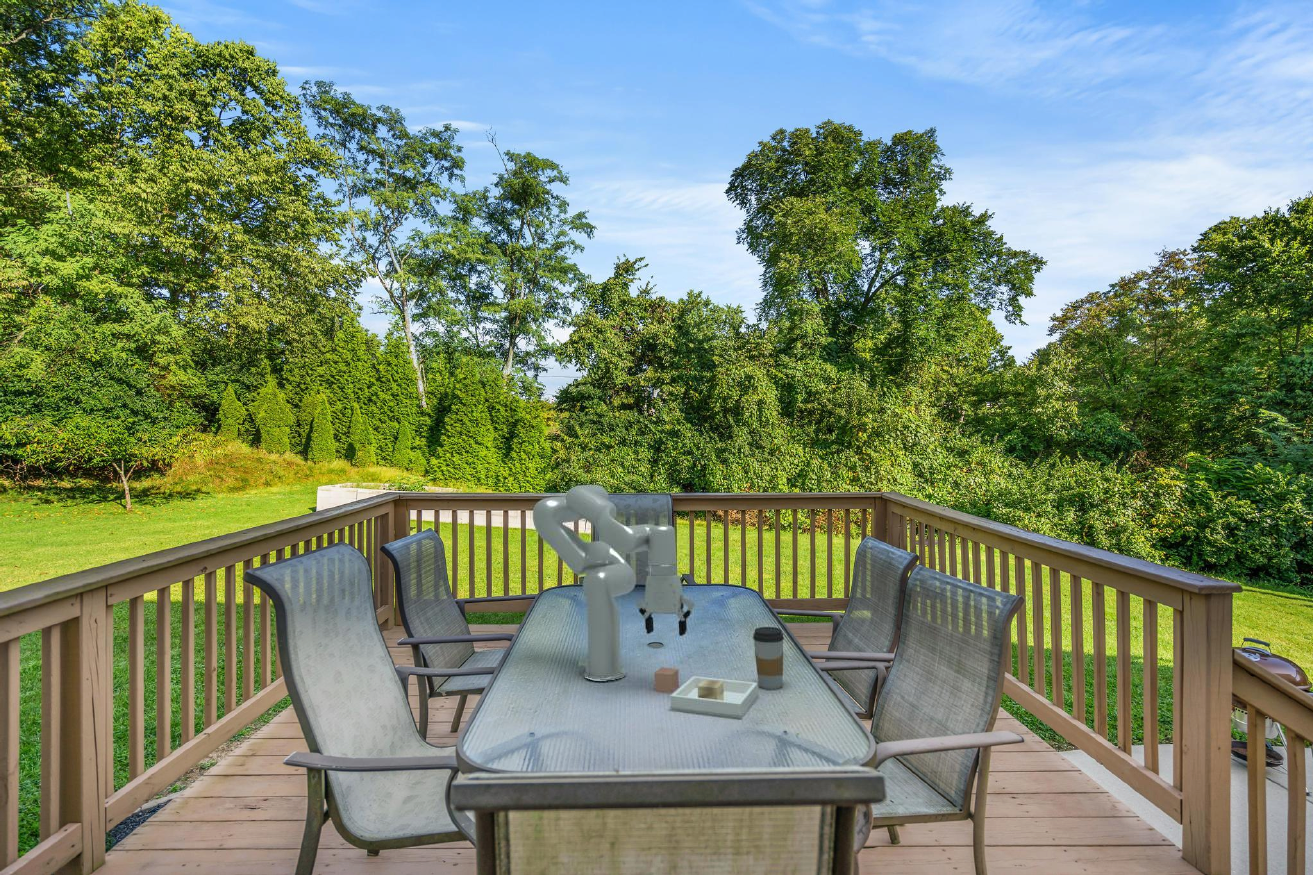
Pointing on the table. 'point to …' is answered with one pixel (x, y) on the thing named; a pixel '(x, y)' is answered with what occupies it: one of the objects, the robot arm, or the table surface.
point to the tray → (733, 706)
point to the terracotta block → (666, 680)
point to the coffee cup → (769, 657)
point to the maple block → (711, 690)
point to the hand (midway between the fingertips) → (666, 633)
